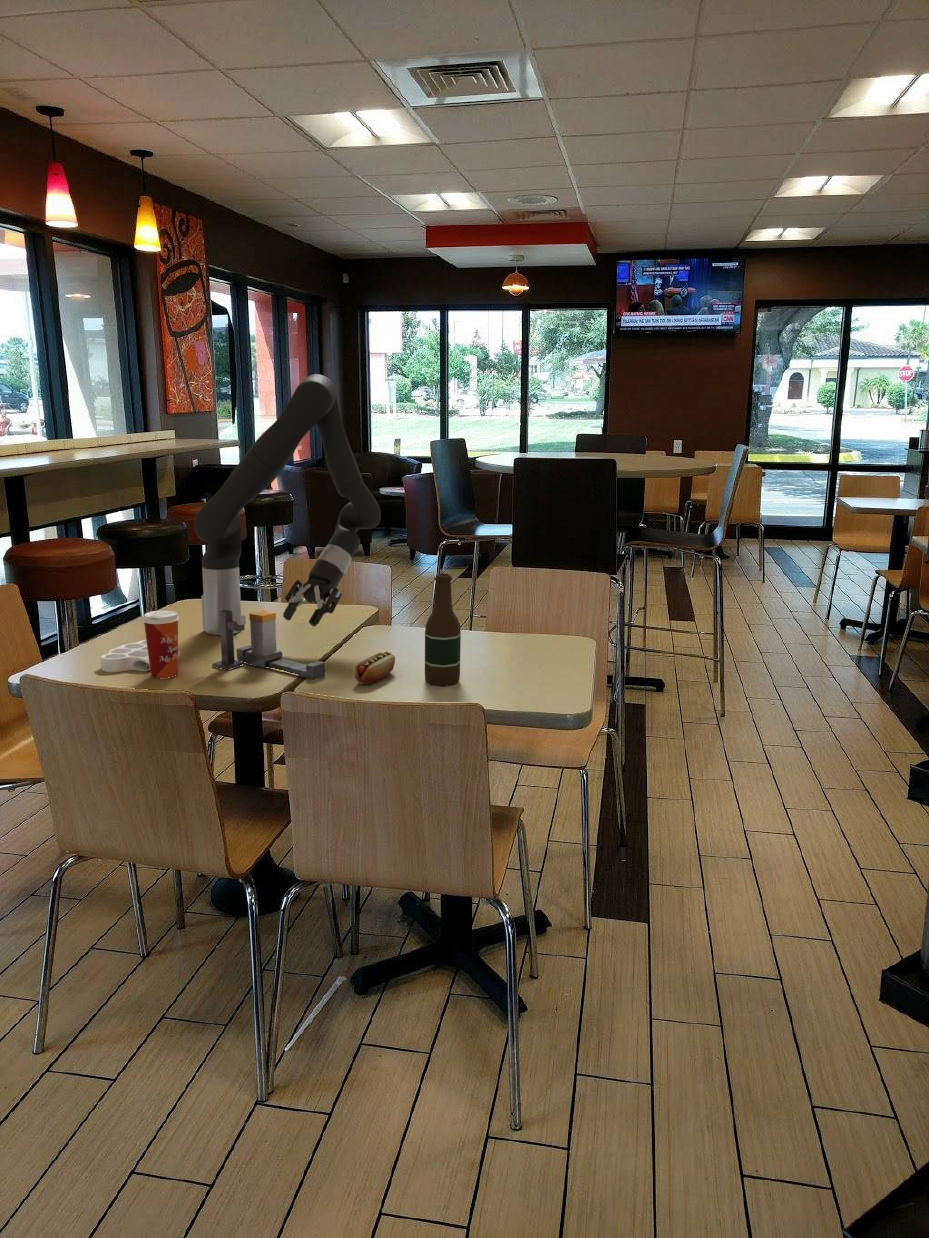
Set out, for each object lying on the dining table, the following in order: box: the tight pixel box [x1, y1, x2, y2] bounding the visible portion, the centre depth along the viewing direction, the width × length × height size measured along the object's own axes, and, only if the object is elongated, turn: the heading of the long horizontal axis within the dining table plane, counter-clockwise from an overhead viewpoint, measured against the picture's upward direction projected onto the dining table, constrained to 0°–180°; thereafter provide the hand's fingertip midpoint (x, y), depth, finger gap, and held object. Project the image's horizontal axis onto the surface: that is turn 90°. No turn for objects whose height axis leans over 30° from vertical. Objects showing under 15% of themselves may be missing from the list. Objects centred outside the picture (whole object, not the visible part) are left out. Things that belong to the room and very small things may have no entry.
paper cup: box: [142, 610, 180, 680], centre depth 202 cm, size 8×8×14 cm
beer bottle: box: [424, 573, 462, 688], centre depth 199 cm, size 8×8×24 cm
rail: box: [236, 644, 326, 681], centre depth 210 cm, size 24×4×3 cm, turn 56°
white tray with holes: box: [100, 639, 181, 673], centre depth 213 cm, size 3×18×15 cm
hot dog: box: [354, 651, 396, 685], centre depth 203 cm, size 5×13×5 cm, turn 156°
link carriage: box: [245, 609, 283, 669], centre depth 211 cm, size 6×6×12 cm
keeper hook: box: [211, 610, 247, 671], centre depth 208 cm, size 8×5×13 cm, turn 56°
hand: (298, 621), depth 220 cm, fingers open, 8 cm apart
